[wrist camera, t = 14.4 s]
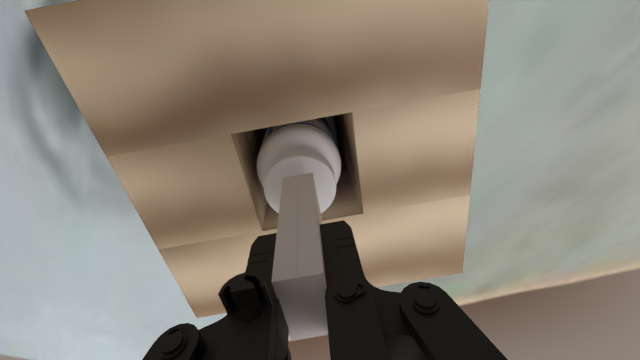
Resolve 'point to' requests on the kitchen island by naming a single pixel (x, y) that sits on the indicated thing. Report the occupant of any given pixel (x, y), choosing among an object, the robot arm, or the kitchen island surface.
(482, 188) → the kitchen island surface
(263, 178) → the pill bottle
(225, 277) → the socket block
